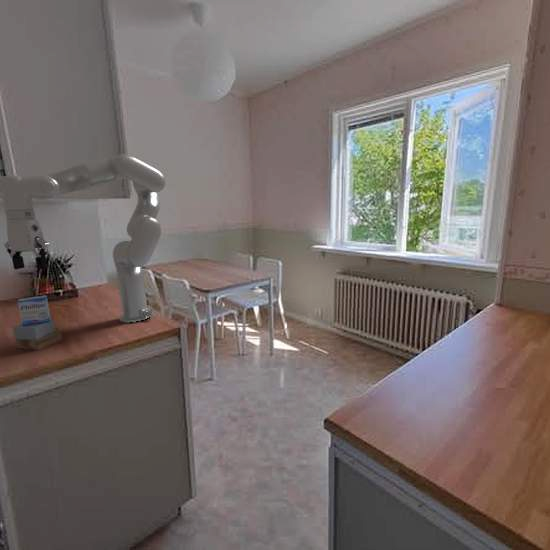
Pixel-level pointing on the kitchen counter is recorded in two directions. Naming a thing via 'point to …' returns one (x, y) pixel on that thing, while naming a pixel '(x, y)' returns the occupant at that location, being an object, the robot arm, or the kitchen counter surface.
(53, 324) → the grey slab
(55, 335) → the walnut slab
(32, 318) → the medicine box
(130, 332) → the kitchen counter surface
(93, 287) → the kitchen counter surface
